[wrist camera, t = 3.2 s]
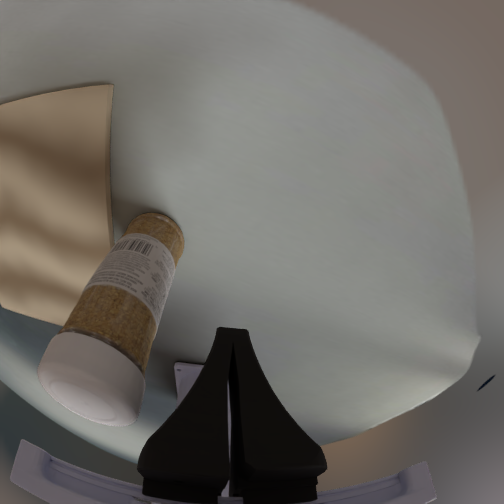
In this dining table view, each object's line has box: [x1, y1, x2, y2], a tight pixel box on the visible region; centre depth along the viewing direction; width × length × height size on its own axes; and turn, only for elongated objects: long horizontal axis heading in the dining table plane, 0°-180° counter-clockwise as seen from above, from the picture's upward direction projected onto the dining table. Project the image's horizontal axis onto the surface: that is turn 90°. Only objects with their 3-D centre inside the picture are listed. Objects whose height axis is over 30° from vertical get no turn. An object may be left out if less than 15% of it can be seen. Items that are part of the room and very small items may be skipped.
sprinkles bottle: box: [37, 213, 184, 426], centre depth 14 cm, size 5×5×14 cm
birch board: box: [0, 84, 115, 326], centre depth 18 cm, size 22×18×1 cm
